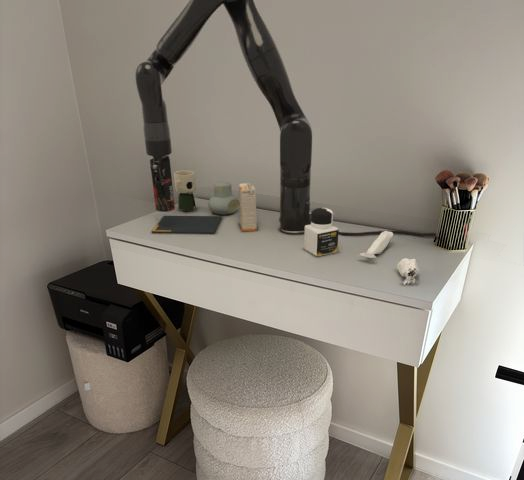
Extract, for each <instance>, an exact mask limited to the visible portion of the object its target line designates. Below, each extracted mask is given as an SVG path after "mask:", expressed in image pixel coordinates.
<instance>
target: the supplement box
mask: <svg viewBox="0 0 524 480" xmlns="http://www.w3.org/2000/svg"><path fill="white" fill-rule="evenodd" d="M238 200H239V207H238V208H239V226H240V227H241V230H242V232H253V231H258V230H257V229H258V228H257V225H258V223H257V189H256V186H255V185H254V183H253V182H247V183H244V182H243V183H238Z"/></svg>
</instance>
